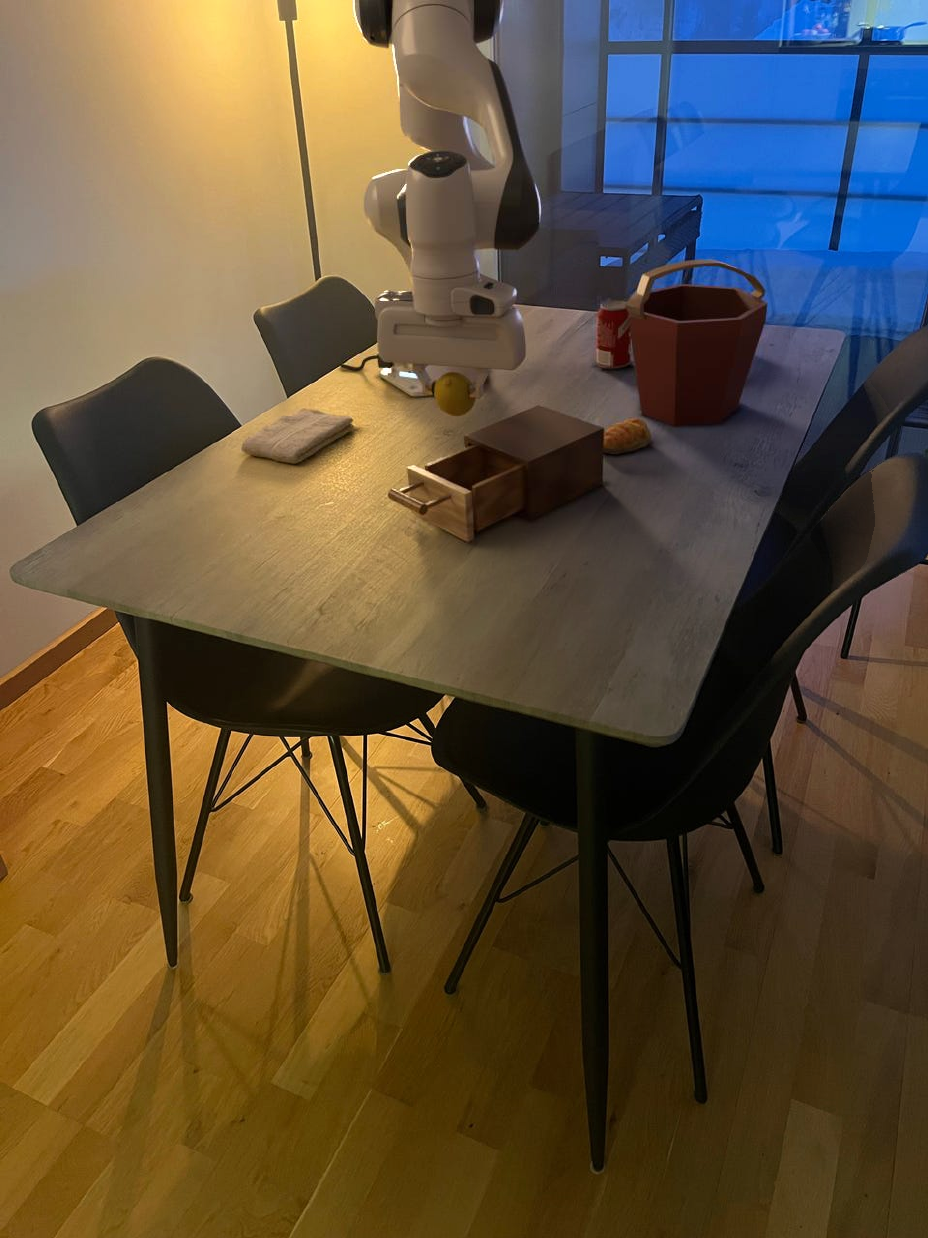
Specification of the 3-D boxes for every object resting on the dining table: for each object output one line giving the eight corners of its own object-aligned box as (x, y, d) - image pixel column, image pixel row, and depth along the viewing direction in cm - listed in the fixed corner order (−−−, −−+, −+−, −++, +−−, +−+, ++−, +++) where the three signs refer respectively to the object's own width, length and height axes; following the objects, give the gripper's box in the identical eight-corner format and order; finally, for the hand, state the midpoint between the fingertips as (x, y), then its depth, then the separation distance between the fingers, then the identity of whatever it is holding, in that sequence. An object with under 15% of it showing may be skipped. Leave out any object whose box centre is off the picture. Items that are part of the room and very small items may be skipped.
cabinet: (529, 520, 137) (528, 461, 132) (467, 491, 146) (463, 435, 141) (602, 484, 145) (604, 427, 140) (539, 458, 154) (538, 404, 149)
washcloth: (358, 428, 169) (356, 412, 167) (296, 468, 156) (293, 451, 155) (305, 418, 174) (302, 402, 173) (241, 457, 162) (238, 440, 160)
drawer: (436, 557, 128) (431, 509, 124) (380, 527, 136) (374, 480, 132) (541, 505, 139) (541, 459, 134) (484, 480, 147) (482, 436, 142)
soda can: (608, 373, 185) (610, 311, 178) (589, 364, 190) (590, 303, 183) (636, 366, 187) (639, 305, 180) (617, 357, 192) (619, 297, 185)
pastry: (615, 461, 152) (616, 438, 150) (585, 449, 156) (585, 427, 154) (654, 443, 156) (655, 421, 154) (624, 432, 161) (625, 411, 159)
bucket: (625, 434, 160) (632, 284, 146) (608, 387, 178) (612, 250, 164) (770, 426, 160) (791, 274, 145) (738, 380, 178) (753, 241, 164)
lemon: (486, 391, 133) (471, 366, 126) (475, 427, 133) (459, 404, 125) (450, 384, 135) (434, 359, 127) (439, 420, 134) (421, 397, 127)
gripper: (363, 296, 122) (375, 398, 130) (514, 303, 116) (517, 409, 124) (382, 283, 127) (392, 382, 135) (528, 289, 121) (530, 392, 129)
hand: (453, 395), depth 129 cm, fingers closed on lemon, 5 cm apart
